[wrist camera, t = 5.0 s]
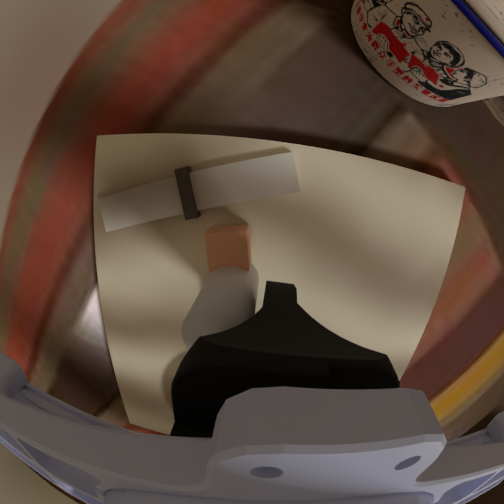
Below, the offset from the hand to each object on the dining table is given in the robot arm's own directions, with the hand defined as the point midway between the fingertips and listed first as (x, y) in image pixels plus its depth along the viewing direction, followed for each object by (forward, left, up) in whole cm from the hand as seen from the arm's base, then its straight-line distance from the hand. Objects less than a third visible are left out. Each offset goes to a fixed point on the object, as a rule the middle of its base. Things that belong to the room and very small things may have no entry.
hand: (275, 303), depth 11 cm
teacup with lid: (+14, -8, -4) cm, 17 cm away
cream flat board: (-5, 0, -4) cm, 6 cm away
